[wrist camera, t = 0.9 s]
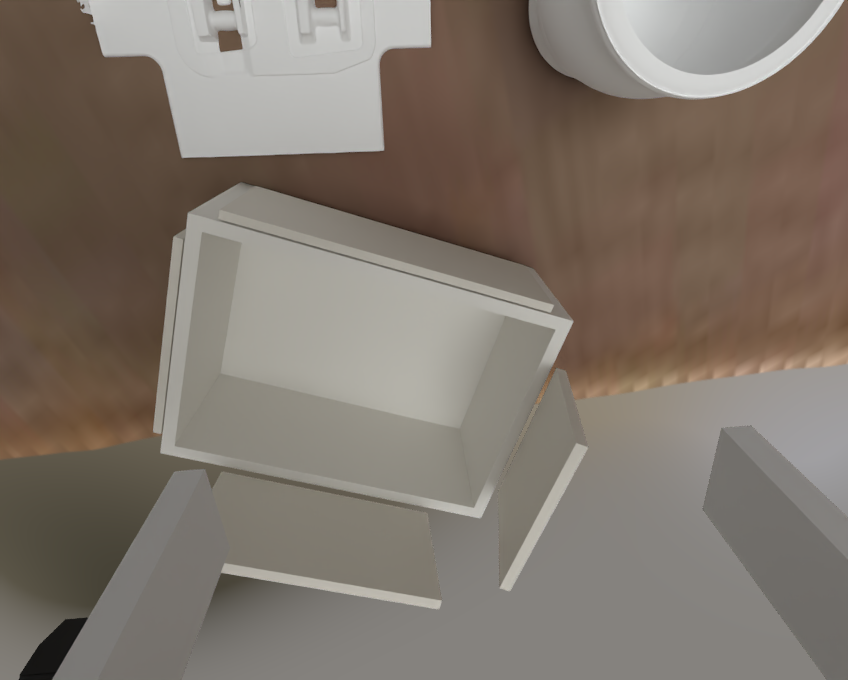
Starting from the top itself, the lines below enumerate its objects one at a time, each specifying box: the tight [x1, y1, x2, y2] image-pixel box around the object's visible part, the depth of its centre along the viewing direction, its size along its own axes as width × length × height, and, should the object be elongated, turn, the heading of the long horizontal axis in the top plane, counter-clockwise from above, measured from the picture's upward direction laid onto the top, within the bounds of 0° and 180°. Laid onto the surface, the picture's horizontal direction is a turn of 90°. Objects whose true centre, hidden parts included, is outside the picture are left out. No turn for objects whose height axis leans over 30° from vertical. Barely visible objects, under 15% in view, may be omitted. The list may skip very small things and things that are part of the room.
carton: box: [153, 182, 573, 518], centre depth 36 cm, size 23×17×10 cm
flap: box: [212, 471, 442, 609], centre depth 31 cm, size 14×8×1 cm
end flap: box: [498, 368, 588, 591], centre depth 29 cm, size 8×10×1 cm
